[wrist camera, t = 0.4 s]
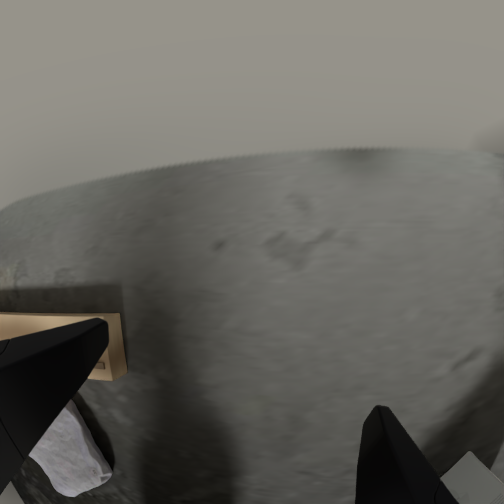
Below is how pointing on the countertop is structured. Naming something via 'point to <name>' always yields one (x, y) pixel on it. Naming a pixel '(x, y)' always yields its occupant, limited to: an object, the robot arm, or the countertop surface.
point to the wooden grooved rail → (27, 323)
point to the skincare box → (473, 482)
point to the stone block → (71, 454)
